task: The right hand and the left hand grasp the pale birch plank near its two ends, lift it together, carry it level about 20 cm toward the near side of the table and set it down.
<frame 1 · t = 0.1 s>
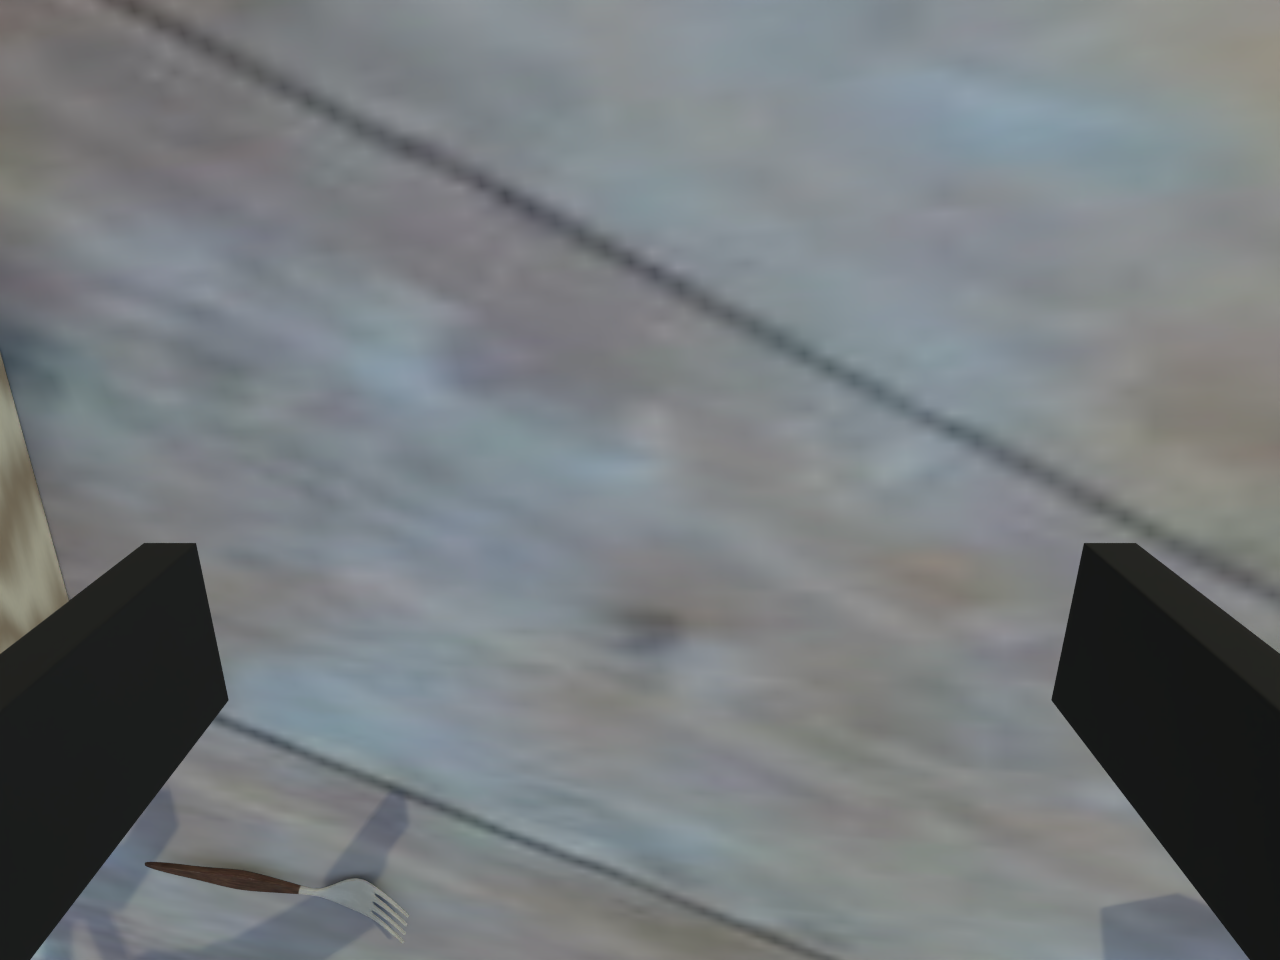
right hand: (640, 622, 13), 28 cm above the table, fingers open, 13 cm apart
fork: (285, 877, 51), on the table
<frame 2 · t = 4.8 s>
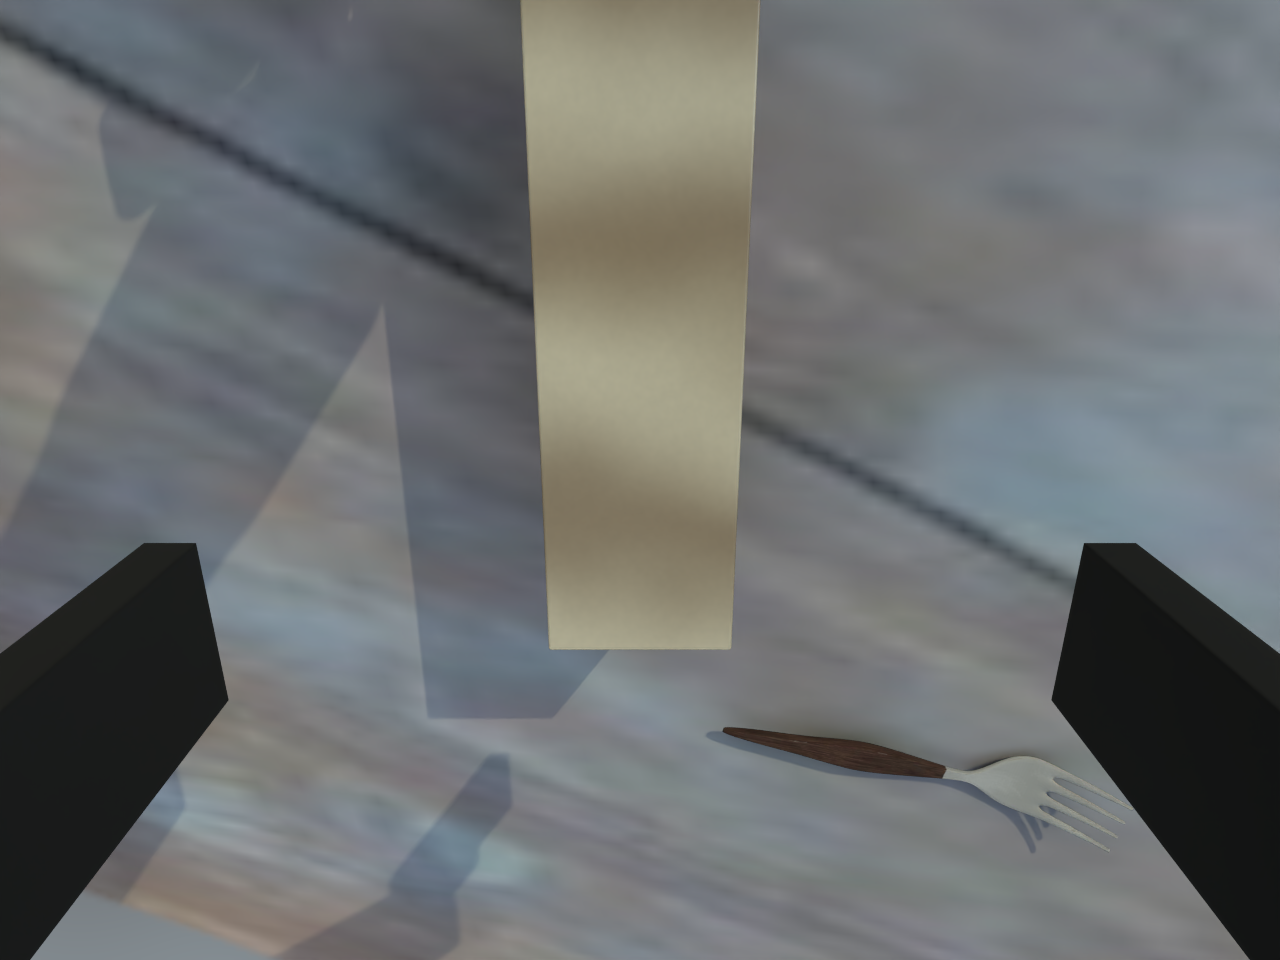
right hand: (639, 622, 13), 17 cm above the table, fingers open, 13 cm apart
fork: (911, 755, 34), on the table
plank: (640, 72, 25), on the table, touching left hand
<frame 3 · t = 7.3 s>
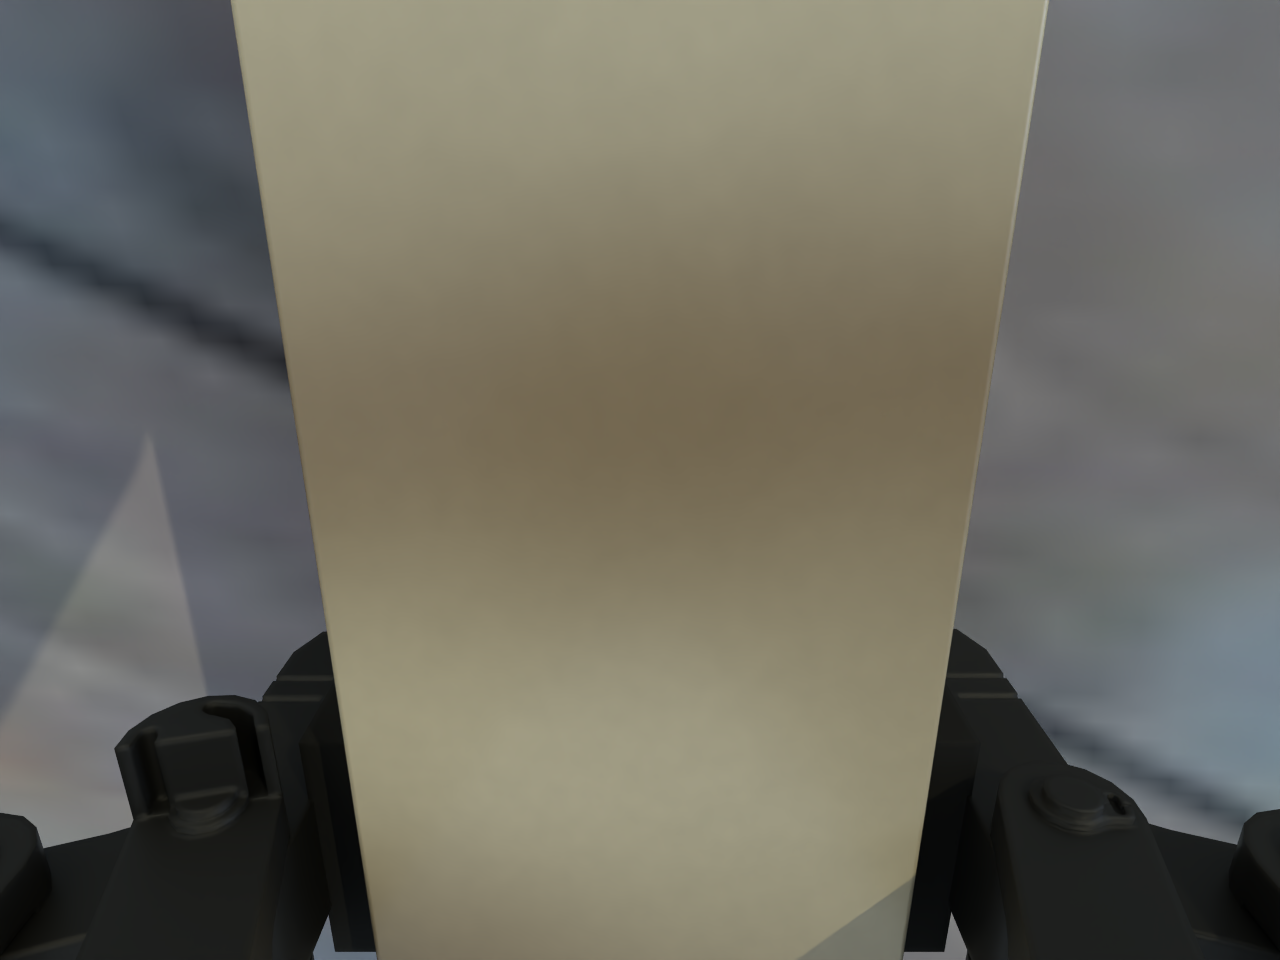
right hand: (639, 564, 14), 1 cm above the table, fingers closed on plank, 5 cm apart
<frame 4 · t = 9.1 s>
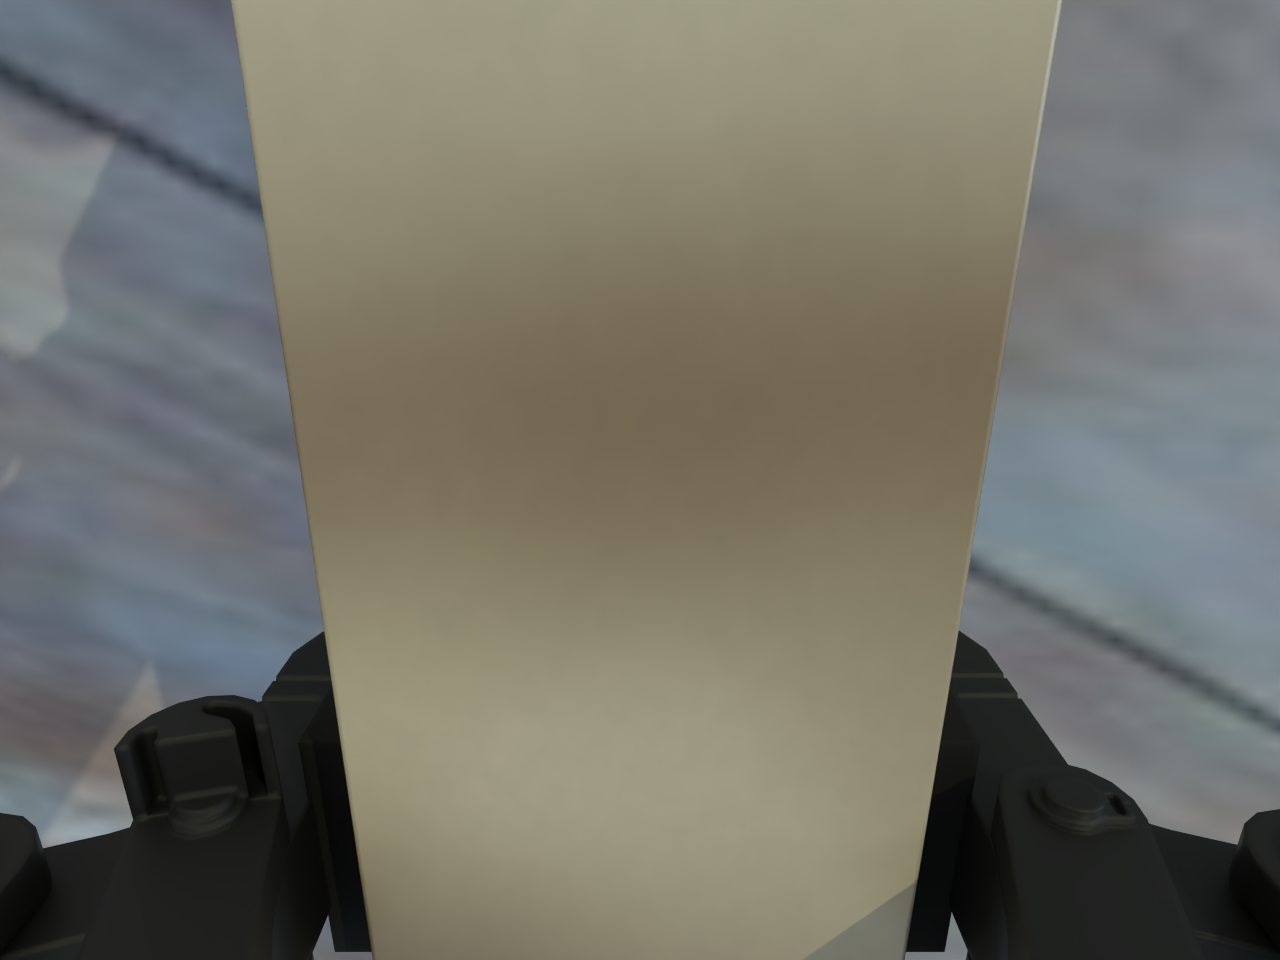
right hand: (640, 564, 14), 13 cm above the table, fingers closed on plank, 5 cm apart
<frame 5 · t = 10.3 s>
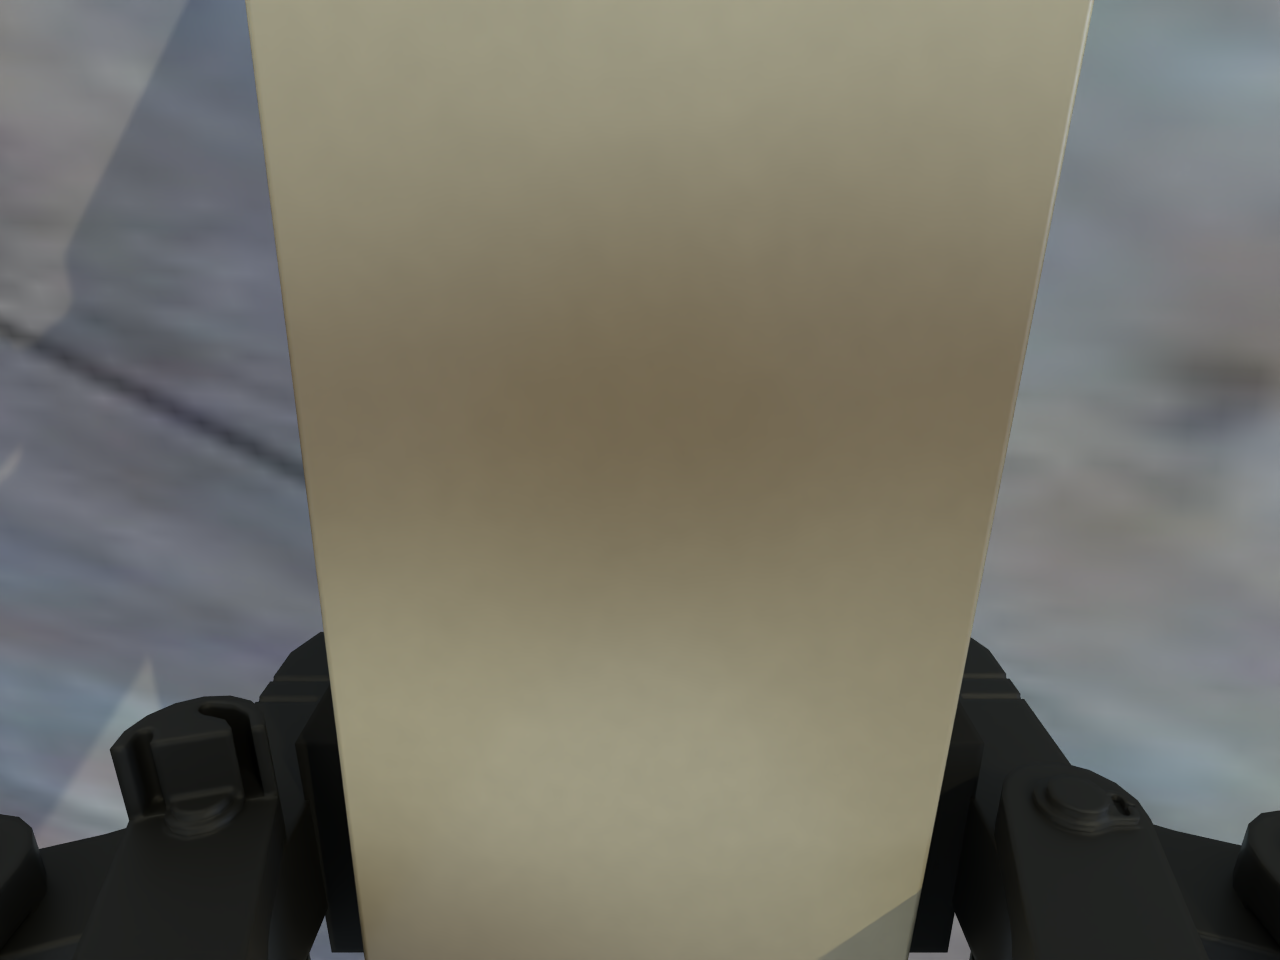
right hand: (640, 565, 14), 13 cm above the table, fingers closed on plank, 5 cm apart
when the right hand's fingers open (2 cm above the table, at t = 13.3 s): plank stays where it is, on the table.
when the left hand's fingers open (4 cm above the table, at t = 13.5 s): plank stays where it is, on the table.
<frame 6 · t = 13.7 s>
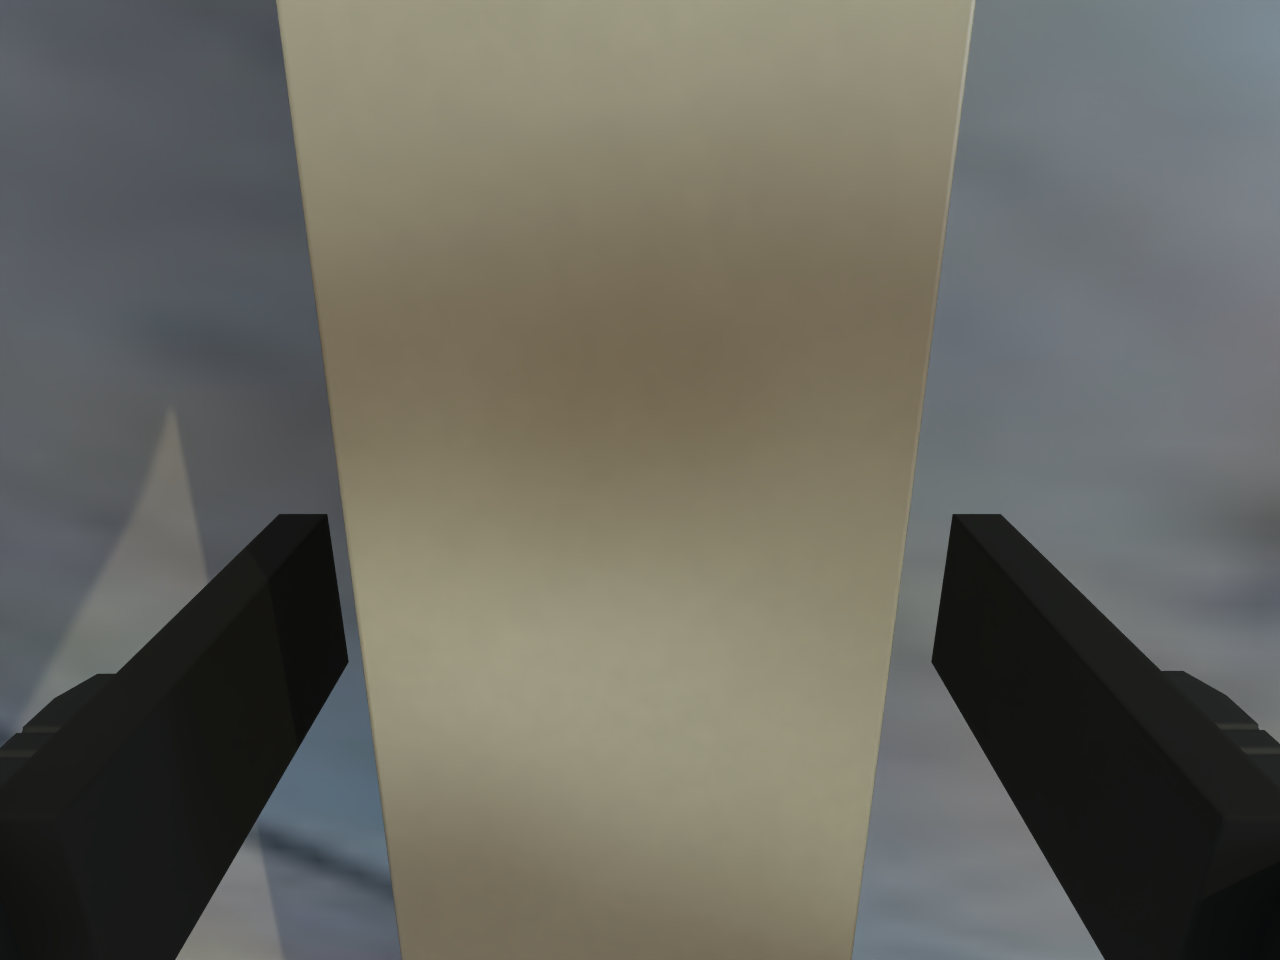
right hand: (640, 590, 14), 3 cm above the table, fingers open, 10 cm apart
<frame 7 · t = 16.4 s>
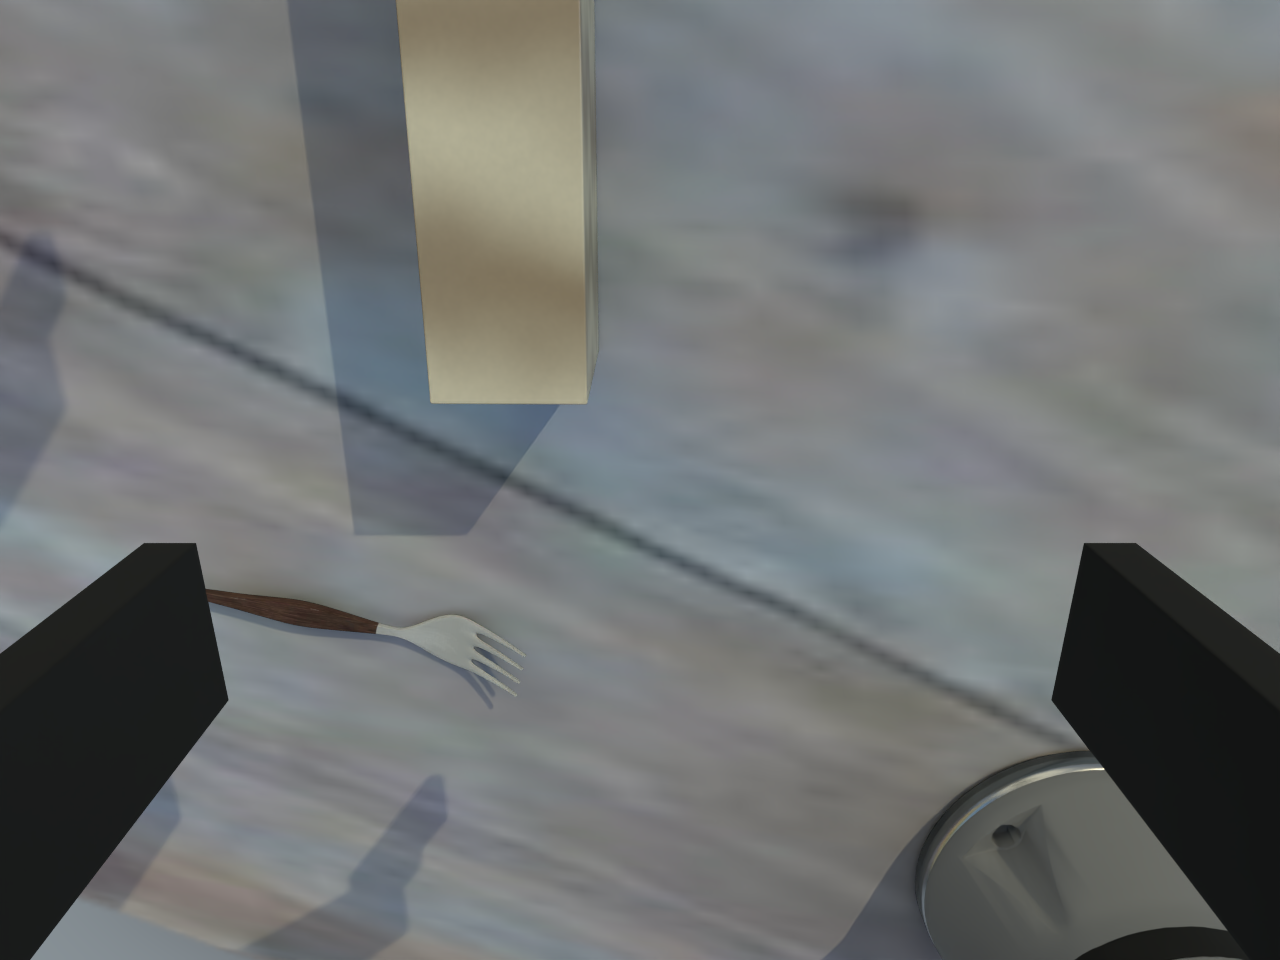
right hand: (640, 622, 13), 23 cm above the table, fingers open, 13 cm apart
fork: (357, 615, 38), on the table
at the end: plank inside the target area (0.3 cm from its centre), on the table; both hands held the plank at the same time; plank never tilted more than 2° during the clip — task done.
